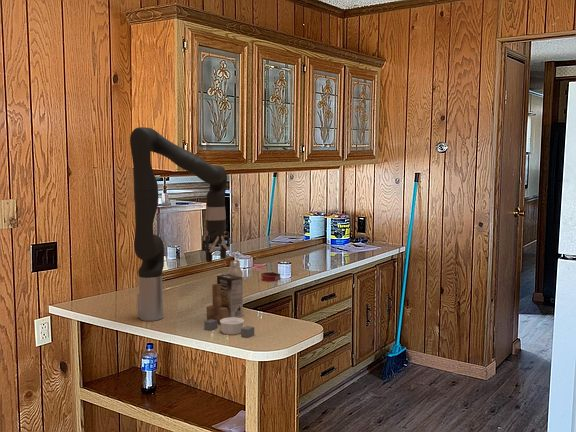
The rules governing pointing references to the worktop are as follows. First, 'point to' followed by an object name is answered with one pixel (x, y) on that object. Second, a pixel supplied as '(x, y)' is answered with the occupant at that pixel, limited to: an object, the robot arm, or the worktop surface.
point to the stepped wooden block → (216, 305)
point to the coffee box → (231, 294)
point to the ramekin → (231, 325)
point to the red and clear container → (270, 276)
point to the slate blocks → (245, 331)
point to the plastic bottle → (235, 270)
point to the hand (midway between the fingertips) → (216, 260)
